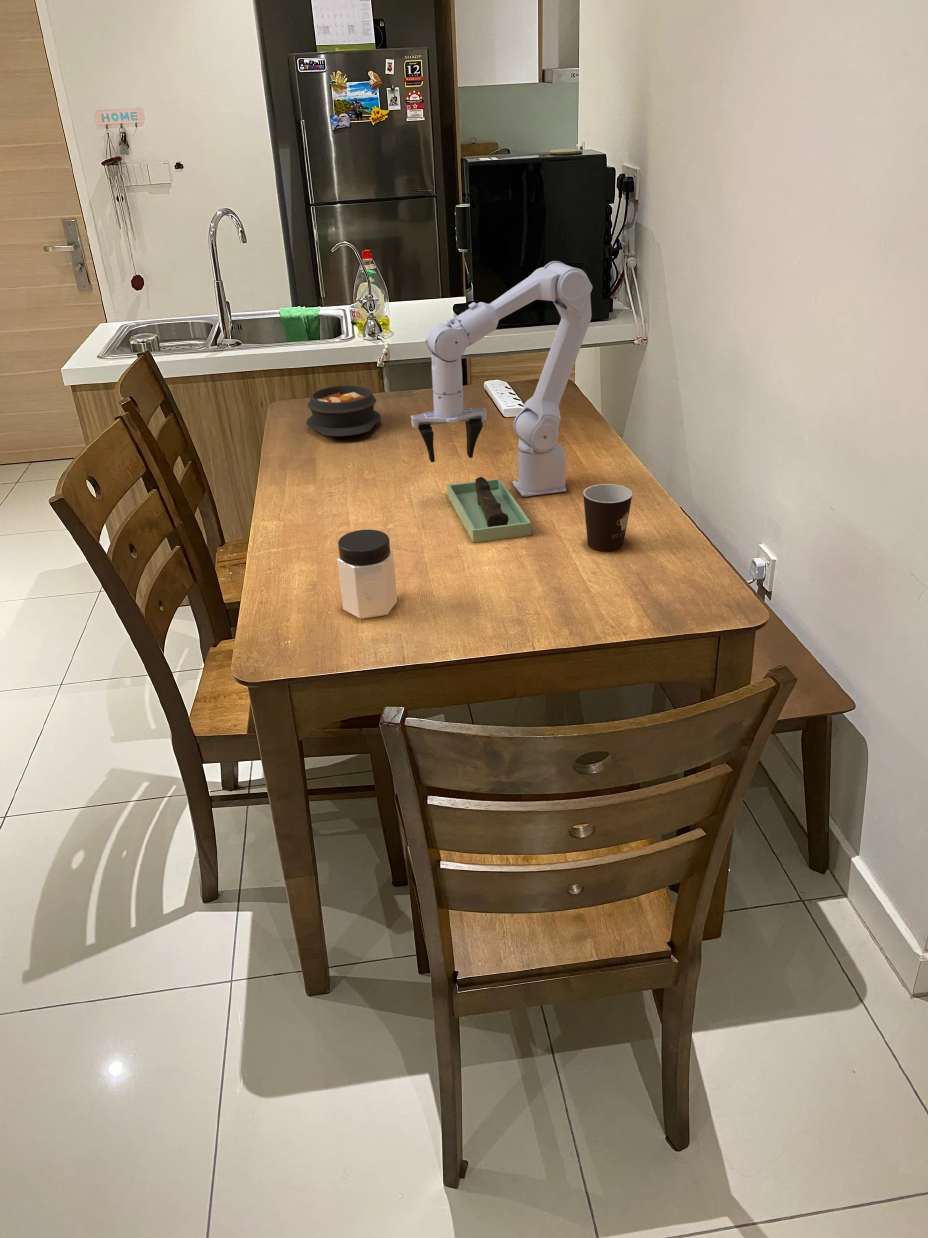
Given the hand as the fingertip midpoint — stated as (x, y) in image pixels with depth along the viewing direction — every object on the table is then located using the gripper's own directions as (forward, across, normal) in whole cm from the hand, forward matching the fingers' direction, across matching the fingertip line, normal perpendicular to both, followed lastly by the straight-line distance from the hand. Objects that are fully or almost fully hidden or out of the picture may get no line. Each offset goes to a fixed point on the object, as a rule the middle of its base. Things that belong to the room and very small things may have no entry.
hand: (451, 458), depth 184 cm
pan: (+9, +5, -8) cm, 13 cm away
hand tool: (+9, +5, -8) cm, 13 cm away
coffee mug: (+10, +24, -27) cm, 37 cm away
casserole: (+10, -16, +55) cm, 58 cm away
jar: (+10, -22, -38) cm, 45 cm away
